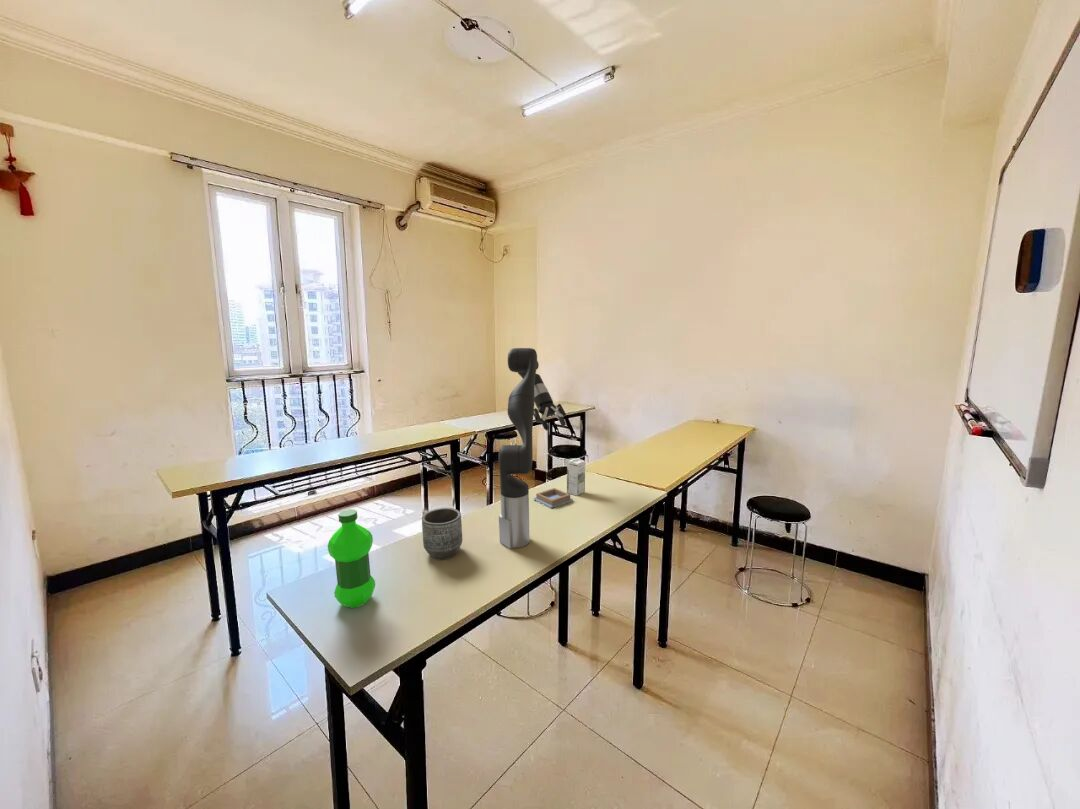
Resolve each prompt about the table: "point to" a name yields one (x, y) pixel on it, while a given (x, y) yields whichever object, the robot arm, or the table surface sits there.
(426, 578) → the table surface
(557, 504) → the footing plate
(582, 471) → the syrup box
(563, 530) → the table surface
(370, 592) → the plastic bottle
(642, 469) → the table surface
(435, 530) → the planter
